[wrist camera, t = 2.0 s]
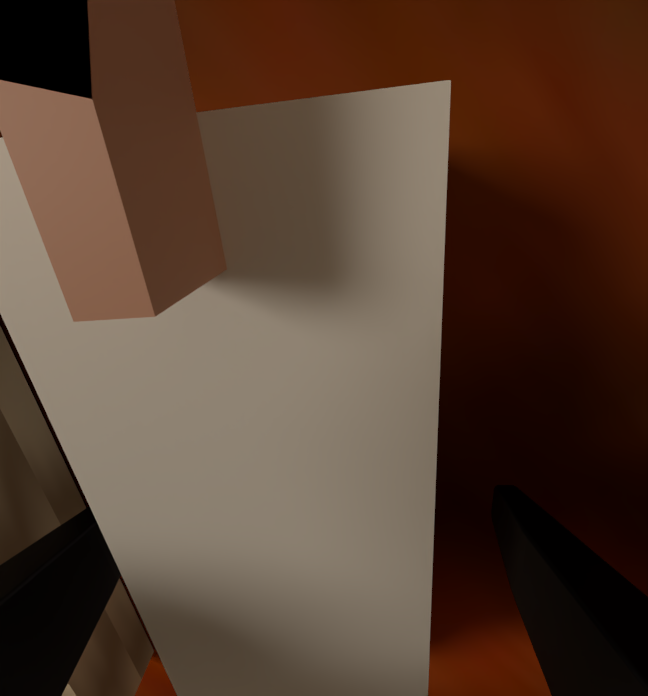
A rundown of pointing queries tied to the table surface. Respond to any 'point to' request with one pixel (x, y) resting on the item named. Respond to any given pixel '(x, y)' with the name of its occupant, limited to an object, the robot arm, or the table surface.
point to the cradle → (46, 515)
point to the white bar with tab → (233, 344)
